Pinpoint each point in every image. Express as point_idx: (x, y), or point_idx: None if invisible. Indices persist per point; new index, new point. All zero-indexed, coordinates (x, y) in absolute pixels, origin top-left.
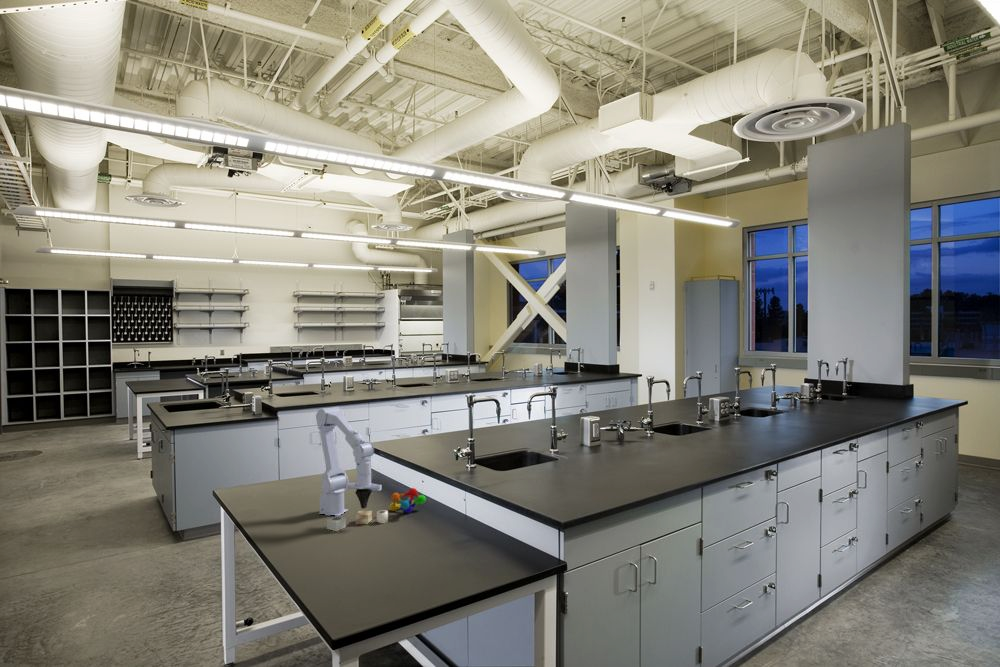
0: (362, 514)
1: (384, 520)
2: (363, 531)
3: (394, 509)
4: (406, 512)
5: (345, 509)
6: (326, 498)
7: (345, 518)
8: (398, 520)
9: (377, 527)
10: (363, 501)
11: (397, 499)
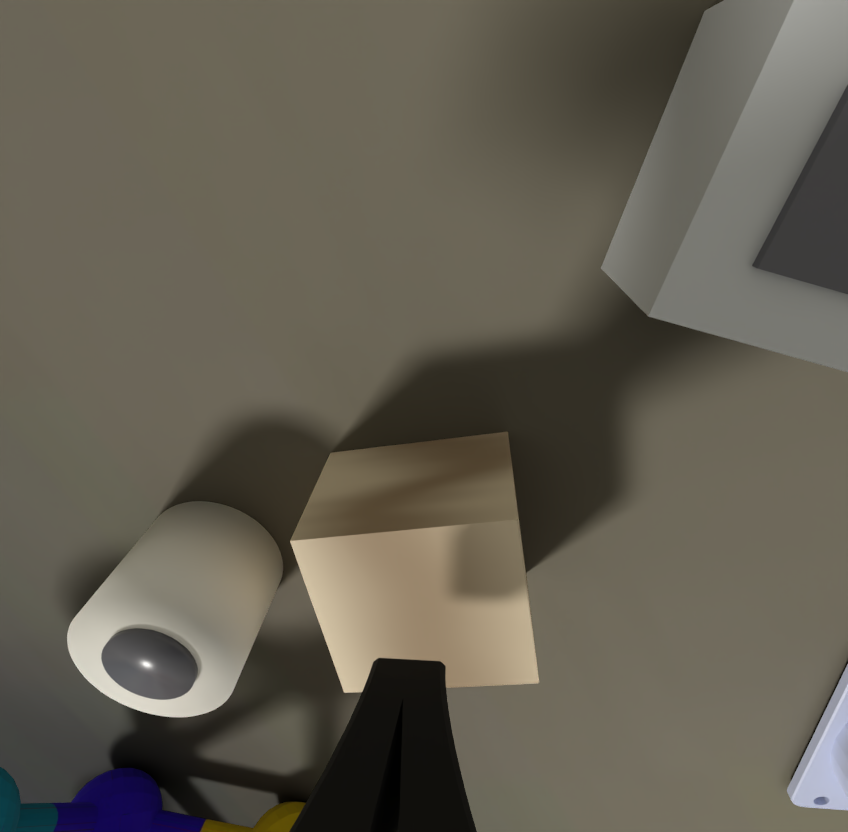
0: (399, 543)
1: (137, 543)
2: (232, 170)
3: (269, 814)
4: (122, 771)
5: (826, 800)
6: None
7: (651, 298)
8: None
9: (144, 377)
10: (347, 805)
11: None
